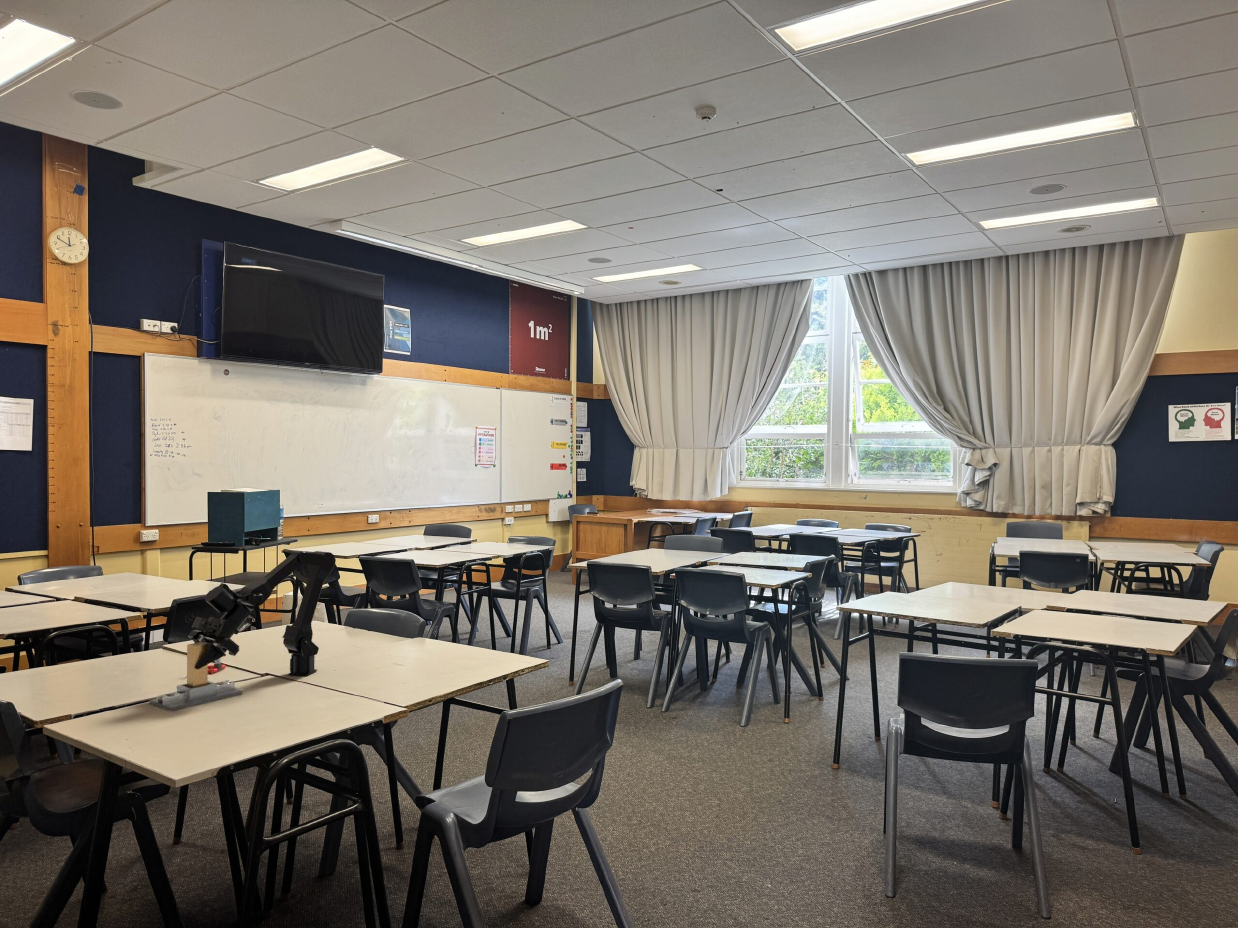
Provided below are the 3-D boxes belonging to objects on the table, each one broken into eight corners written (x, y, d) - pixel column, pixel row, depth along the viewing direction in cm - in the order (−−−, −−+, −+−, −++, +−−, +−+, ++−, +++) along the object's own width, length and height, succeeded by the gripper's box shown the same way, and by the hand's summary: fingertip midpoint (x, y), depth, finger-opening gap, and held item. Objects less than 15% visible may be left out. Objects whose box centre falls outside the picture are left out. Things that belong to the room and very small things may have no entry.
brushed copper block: (201, 687, 226) (201, 641, 226) (207, 689, 224) (207, 643, 224) (186, 690, 223) (187, 644, 223) (193, 692, 221) (193, 646, 221)
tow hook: (184, 675, 250) (213, 674, 249) (183, 634, 250) (211, 633, 249) (200, 668, 258) (227, 668, 257) (198, 629, 258) (226, 628, 258)
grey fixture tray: (220, 687, 235) (220, 673, 235) (242, 693, 228) (242, 680, 228) (149, 703, 219) (149, 689, 219) (171, 711, 212) (171, 696, 212)
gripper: (194, 602, 232) (155, 646, 223) (229, 609, 222) (189, 656, 212) (220, 624, 239) (183, 668, 229) (255, 632, 228) (217, 678, 219)
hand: (192, 667), depth 222 cm, fingers closed on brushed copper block, 3 cm apart
